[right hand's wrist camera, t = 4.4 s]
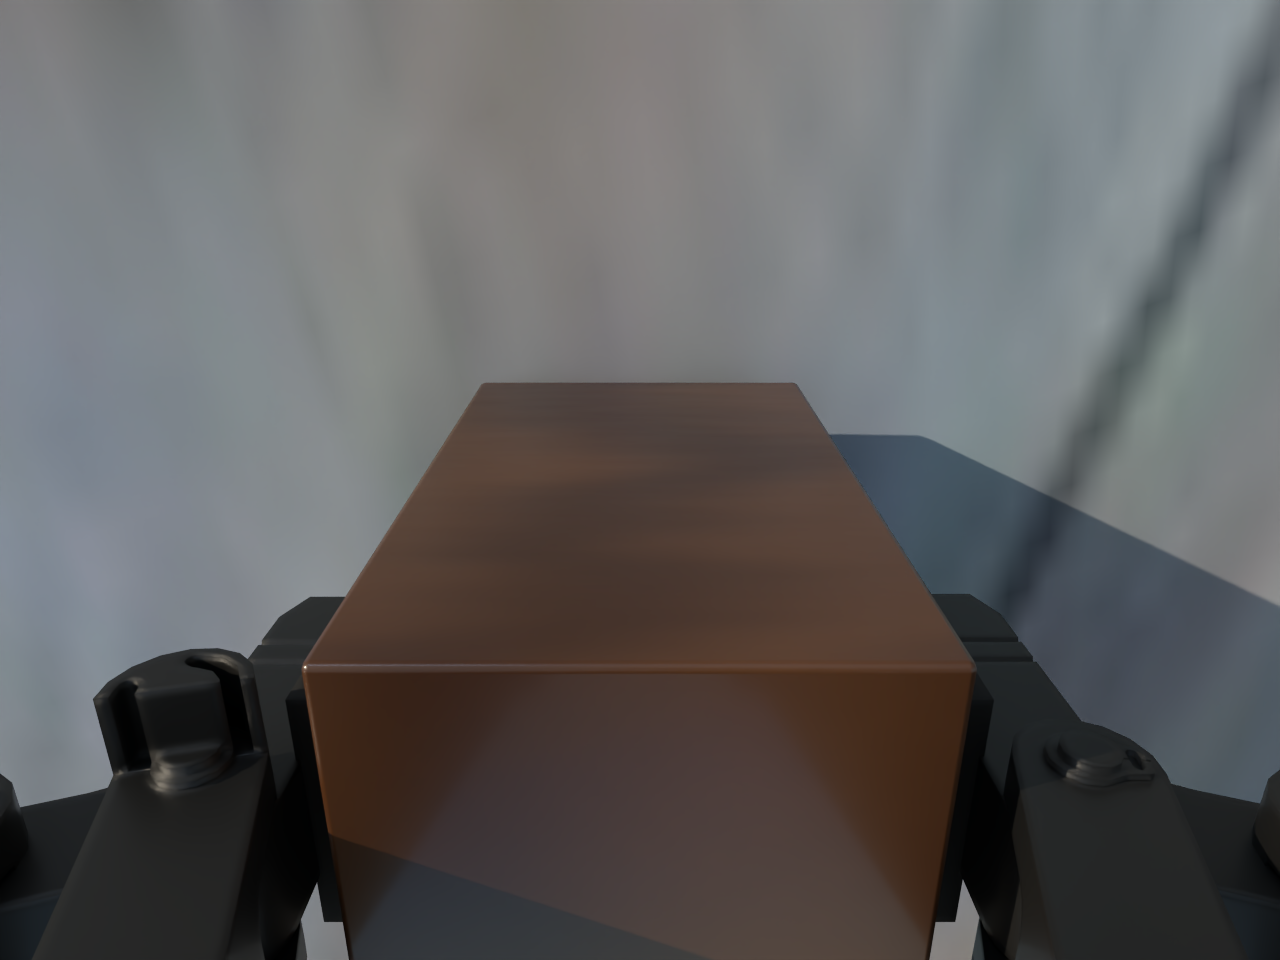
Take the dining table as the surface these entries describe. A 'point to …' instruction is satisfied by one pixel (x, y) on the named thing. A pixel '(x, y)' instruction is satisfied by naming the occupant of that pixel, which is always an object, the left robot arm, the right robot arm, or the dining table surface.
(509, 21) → the dining table surface
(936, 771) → the walnut block
